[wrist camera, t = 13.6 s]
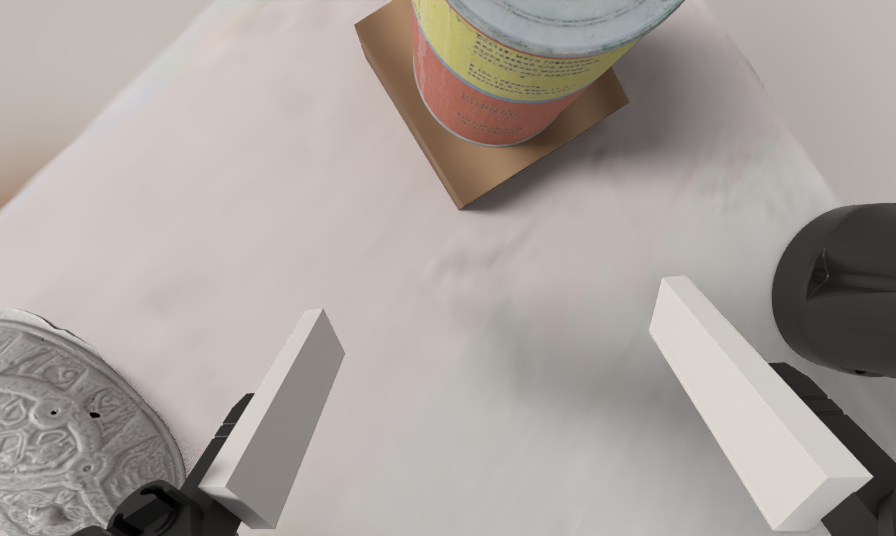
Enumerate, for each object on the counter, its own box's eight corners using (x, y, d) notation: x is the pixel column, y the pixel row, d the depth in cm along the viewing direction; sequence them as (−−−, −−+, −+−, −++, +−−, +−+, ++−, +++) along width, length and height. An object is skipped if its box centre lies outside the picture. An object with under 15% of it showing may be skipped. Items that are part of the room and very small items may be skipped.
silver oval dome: (-13, 261, 25) (-171, 283, 19) (244, 455, 30) (189, 528, 23) (-112, 388, 27) (-286, 448, 21) (142, 553, 32) (64, 647, 25)
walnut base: (515, -38, 26) (531, -87, 22) (600, 121, 27) (629, 102, 23) (365, 57, 26) (354, 24, 22) (458, 210, 27) (463, 205, 24)
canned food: (605, 41, 23) (796, -169, 11) (517, 178, 24) (609, 120, 12) (471, -62, 22) (524, -421, 10) (381, 86, 22) (329, -85, 10)
